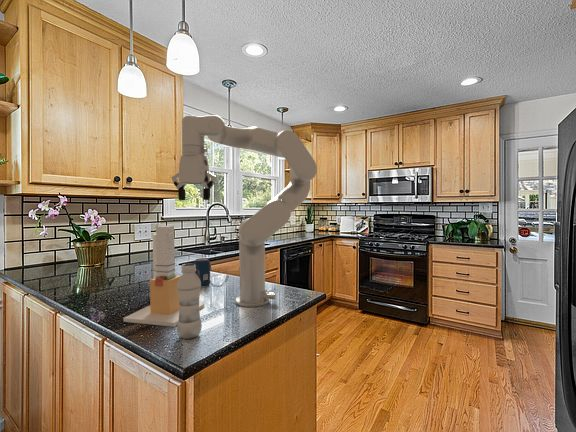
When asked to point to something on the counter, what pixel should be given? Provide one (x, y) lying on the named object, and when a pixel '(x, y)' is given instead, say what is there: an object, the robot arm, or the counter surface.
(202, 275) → the soda can
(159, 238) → the steel column
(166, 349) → the counter surface
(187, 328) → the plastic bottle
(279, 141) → the robot arm
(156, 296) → the stand base
